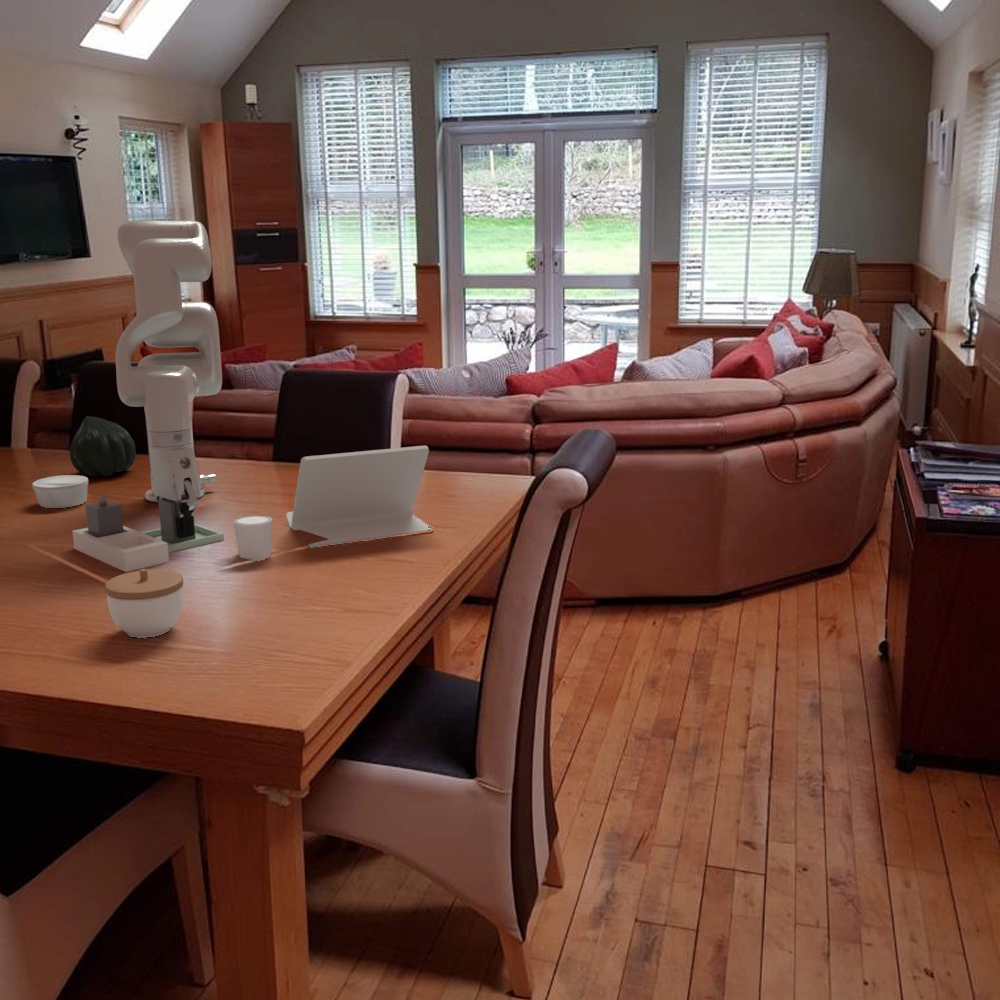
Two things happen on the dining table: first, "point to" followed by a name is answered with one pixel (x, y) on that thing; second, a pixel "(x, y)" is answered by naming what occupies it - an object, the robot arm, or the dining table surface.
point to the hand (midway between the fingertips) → (178, 533)
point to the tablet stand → (359, 495)
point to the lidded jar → (145, 601)
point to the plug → (171, 521)
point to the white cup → (254, 537)
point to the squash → (101, 448)
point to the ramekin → (61, 491)
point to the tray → (202, 538)
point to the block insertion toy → (117, 539)
